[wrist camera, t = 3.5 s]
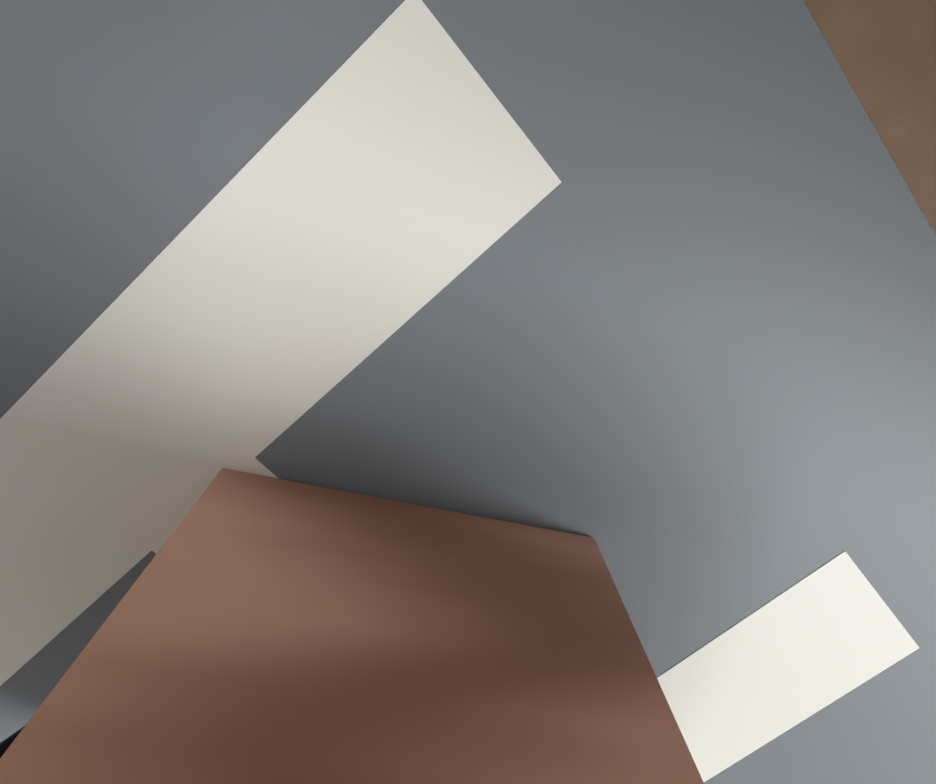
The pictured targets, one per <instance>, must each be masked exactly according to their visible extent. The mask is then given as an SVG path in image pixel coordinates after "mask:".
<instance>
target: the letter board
mask: <svg viewBox="0 0 936 784" xmlns="http://www.w3.org/2000/svg"><path fill="white" fill-rule="evenodd" d="M222 468H225V469H230V470H236V471H241V472H246V473H252V474H257V475H262V476H268V477H273V478H278V479H283V480H289V481H294V482H299V483H305V484H310V485H315V486H321V487H326V488H331V489H337V490H342V491H347V492H353V493H358V494H363V495H369V496H374V497H379V498H385V499H390V500H395V501H401V502H406V503H411V504H417V505H422V506H427V507H433V508H438V509H443V510H449V511H454V512H459V513H465V514H470V515H475V516H481V517H486V518H491V519H497V520H502V521H507V522H513V523H518V524H523V525H529V526H534V527H539V528H545V529H550V530H555V531H561V532H566V533H571V534H576V535H582V536H587V537H592V538H594V539H595V541H596V543H597V545H598V548H599V550H600V552H601V554H602V557H603V559H604V561H605V563H606V566H607V568H608V570H609V572H610V575H611V577H612V579H613V581H614V583H615V586H616V588H617V590H618V592H619V595H620V597H621V599H622V601H623V604H624V606H625V608H626V610H627V612H628V615H629V617H630V619H631V621H632V624H633V626H634V628H635V630H636V633H637V635H638V637H639V639H640V642H641V644H642V646H643V648H644V650H645V653H646V655H647V657H648V659H649V662H650V664H651V666H652V668H653V671H654V673H655V675H656V677H657V679H658V682H659V684H660V686H661V688H662V691H663V693H664V695H665V697H666V700H667V702H668V704H669V706H670V708H671V711H672V713H673V715H674V717H675V720H676V722H677V724H678V726H679V729H680V731H681V733H682V735H683V738H684V740H685V742H686V744H687V746H688V749H689V751H690V753H691V755H692V758H693V760H694V762H695V764H696V767H697V769H698V771H699V773H700V775H701V778H702V780H703V782H704V784H936V235H935V233H934V231H933V229H932V228H931V226H930V224H929V222H928V221H927V219H926V217H925V215H924V213H923V212H922V210H921V208H920V206H919V205H918V203H917V201H916V199H915V198H914V196H913V194H912V192H911V190H910V189H909V187H908V185H907V183H906V182H905V180H904V178H903V176H902V174H901V173H900V171H899V169H898V167H897V166H896V164H895V162H894V160H893V158H892V157H891V155H890V153H889V151H888V150H887V148H886V146H885V144H884V142H883V141H882V139H881V137H880V135H879V134H878V132H877V130H876V128H875V126H874V125H873V123H872V121H871V119H870V118H869V116H868V114H867V112H866V111H865V109H864V107H863V105H862V103H861V102H860V100H859V98H858V96H857V95H856V93H855V91H854V89H853V87H852V86H851V84H850V82H849V80H848V79H847V77H846V75H845V73H844V71H843V70H842V68H841V66H840V64H839V63H838V61H837V59H836V57H835V55H834V54H833V52H832V50H831V48H830V47H829V45H828V43H827V41H826V40H825V38H824V36H823V34H822V32H821V31H820V29H819V27H818V25H817V24H816V22H815V20H814V18H813V16H812V15H811V13H810V11H809V9H808V8H807V6H806V4H805V2H804V0H0V743H1V742H2V741H3V740H5V739H6V738H8V737H9V736H11V735H12V734H13V733H15V732H16V731H18V730H19V729H20V728H22V727H23V726H25V725H26V724H27V723H28V721H29V720H30V719H31V718H32V716H33V715H34V714H35V712H36V711H37V710H38V708H39V707H40V706H41V704H42V703H43V702H44V701H45V699H46V698H47V697H48V695H49V694H50V693H51V691H52V690H53V689H54V687H55V686H56V685H57V684H58V682H59V681H60V680H61V678H62V677H63V676H64V674H65V673H66V672H67V670H68V669H69V668H70V667H71V665H72V664H73V663H74V661H75V660H76V659H77V657H78V656H79V655H80V653H81V652H82V651H83V650H84V648H85V647H86V646H87V644H88V643H89V642H90V640H91V639H92V638H93V636H94V635H95V634H96V633H97V631H98V630H99V629H100V627H101V626H102V625H103V623H104V622H105V621H106V619H107V618H108V617H109V616H110V614H111V613H112V612H113V610H114V609H115V608H116V606H117V605H118V604H119V602H120V601H121V600H122V599H123V597H124V596H125V595H126V593H127V592H128V591H129V589H130V588H131V587H132V585H133V584H134V583H135V582H136V580H137V579H138V578H139V576H140V575H141V574H142V572H143V571H144V570H145V568H146V567H147V566H148V565H149V563H150V562H151V561H152V559H153V558H154V557H155V555H156V554H157V553H158V551H159V550H160V549H161V548H162V546H163V545H164V544H165V542H166V541H167V540H168V538H169V537H170V536H171V534H172V533H173V532H174V531H175V529H176V528H177V527H178V525H179V524H180V523H181V521H182V520H183V519H184V517H185V516H186V515H187V514H188V512H189V511H190V510H191V508H192V507H193V506H194V504H195V503H196V502H197V500H198V499H199V498H200V497H201V495H202V494H203V493H204V491H205V490H206V489H207V487H208V486H209V485H210V483H211V482H212V481H213V479H214V478H215V477H216V476H217V474H218V473H219V472H220V470H221V469H222Z"/></svg>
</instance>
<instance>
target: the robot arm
mask: <svg viewBox="0 0 936 784" xmlns="http://www.w3.org/2000/svg"><path fill="white" fill-rule="evenodd" d="M24 727H25V726H23V727H22V728H20V729H19V730H18V731H16V732H15V733H13V734H12V735H11V736H9V737H8V738H6V739H5V740H3V741H2V742H1V743H0V758H1V757H2V755H3V754H4V753H5V752H6V750H7V749H8V748H9V746H10V745H11V744H12V742H13V741H14V740H15V738H16V737H17V736H18V735H19V733H20V732H21V731H22V729H23V728H24Z"/></svg>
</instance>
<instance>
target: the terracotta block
mask: <svg viewBox="0 0 936 784" xmlns="http://www.w3.org/2000/svg"><path fill="white" fill-rule="evenodd" d="M0 784H704V782H703V780H702V778H701V775H700V773H699V771H698V769H697V767H696V764H695V762H694V760H693V758H692V755H691V753H690V751H689V749H688V746H687V744H686V742H685V740H684V738H683V735H682V733H681V731H680V729H679V726H678V724H677V722H676V720H675V717H674V715H673V713H672V711H671V708H670V706H669V704H668V702H667V700H666V697H665V695H664V693H663V691H662V688H661V686H660V684H659V682H658V679H657V677H656V675H655V673H654V671H653V668H652V666H651V664H650V662H649V659H648V657H647V655H646V653H645V650H644V648H643V646H642V644H641V642H640V639H639V637H638V635H637V633H636V630H635V628H634V626H633V624H632V621H631V619H630V617H629V615H628V612H627V610H626V608H625V606H624V604H623V601H622V599H621V597H620V595H619V592H618V590H617V588H616V586H615V583H614V581H613V579H612V577H611V575H610V572H609V570H608V568H607V566H606V563H605V561H604V559H603V557H602V554H601V552H600V550H599V548H598V545H597V543H596V541H595V539H594V538H592V537H587V536H582V535H576V534H571V533H566V532H561V531H555V530H550V529H545V528H539V527H534V526H529V525H523V524H518V523H513V522H507V521H502V520H497V519H491V518H486V517H481V516H475V515H470V514H465V513H459V512H454V511H449V510H443V509H438V508H433V507H427V506H422V505H417V504H411V503H406V502H401V501H395V500H390V499H385V498H379V497H374V496H369V495H363V494H358V493H353V492H347V491H342V490H337V489H331V488H326V487H321V486H315V485H310V484H305V483H299V482H294V481H289V480H283V479H278V478H273V477H268V476H262V475H257V474H252V473H246V472H241V471H236V470H230V469H225V468H222V469H221V470H220V472H219V473H218V474H217V476H216V477H215V478H214V479H213V481H212V482H211V483H210V485H209V486H208V487H207V489H206V490H205V491H204V493H203V494H202V495H201V497H200V498H199V499H198V500H197V502H196V503H195V504H194V506H193V507H192V508H191V510H190V511H189V512H188V514H187V515H186V516H185V517H184V519H183V520H182V521H181V523H180V524H179V525H178V527H177V528H176V529H175V531H174V532H173V533H172V534H171V536H170V537H169V538H168V540H167V541H166V542H165V544H164V545H163V546H162V548H161V549H160V550H159V551H158V553H157V554H156V555H155V557H154V558H153V559H152V561H151V562H150V563H149V565H148V566H147V567H146V568H145V570H144V571H143V572H142V574H141V575H140V576H139V578H138V579H137V580H136V582H135V583H134V584H133V585H132V587H131V588H130V589H129V591H128V592H127V593H126V595H125V596H124V597H123V599H122V600H121V601H120V602H119V604H118V605H117V606H116V608H115V609H114V610H113V612H112V613H111V614H110V616H109V617H108V618H107V619H106V621H105V622H104V623H103V625H102V626H101V627H100V629H99V630H98V631H97V633H96V634H95V635H94V636H93V638H92V639H91V640H90V642H89V643H88V644H87V646H86V647H85V648H84V650H83V651H82V652H81V653H80V655H79V656H78V657H77V659H76V660H75V661H74V663H73V664H72V665H71V667H70V668H69V669H68V670H67V672H66V673H65V674H64V676H63V677H62V678H61V680H60V681H59V682H58V684H57V685H56V686H55V687H54V689H53V690H52V691H51V693H50V694H49V695H48V697H47V698H46V699H45V701H44V702H43V703H42V704H41V706H40V707H39V708H38V710H37V711H36V712H35V714H34V715H33V716H32V718H31V719H30V720H29V721H28V723H27V724H26V725H25V727H24V728H23V729H22V731H21V732H20V733H19V735H18V736H17V737H16V738H15V740H14V741H13V742H12V744H11V745H10V746H9V748H8V749H7V750H6V752H5V753H4V754H3V755H2V757H1V758H0Z"/></svg>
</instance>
